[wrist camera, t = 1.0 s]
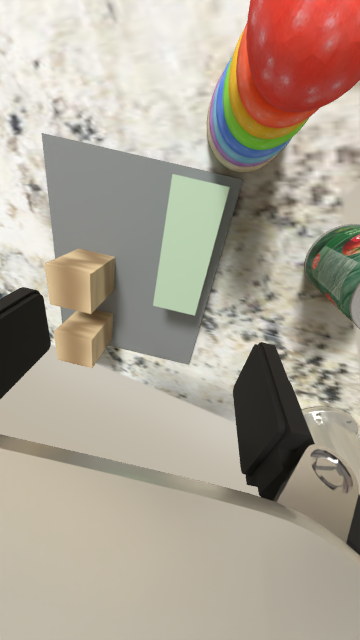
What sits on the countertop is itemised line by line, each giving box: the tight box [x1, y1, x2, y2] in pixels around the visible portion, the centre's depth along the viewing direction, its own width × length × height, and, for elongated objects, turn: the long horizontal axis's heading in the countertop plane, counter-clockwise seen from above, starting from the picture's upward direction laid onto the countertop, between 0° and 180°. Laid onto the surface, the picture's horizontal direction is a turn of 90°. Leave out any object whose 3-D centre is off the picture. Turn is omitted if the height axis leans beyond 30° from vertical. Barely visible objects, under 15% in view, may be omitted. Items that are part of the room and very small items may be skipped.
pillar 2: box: [54, 310, 113, 368], centre depth 33 cm, size 5×5×7 cm
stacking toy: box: [207, 0, 360, 172], centre depth 13 cm, size 8×8×19 cm
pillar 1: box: [45, 249, 115, 314], centre depth 28 cm, size 5×5×7 cm
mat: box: [42, 133, 243, 364], centre depth 31 cm, size 22×27×1 cm
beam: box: [153, 174, 230, 316], centre depth 25 cm, size 5×13×6 cm, turn 169°
